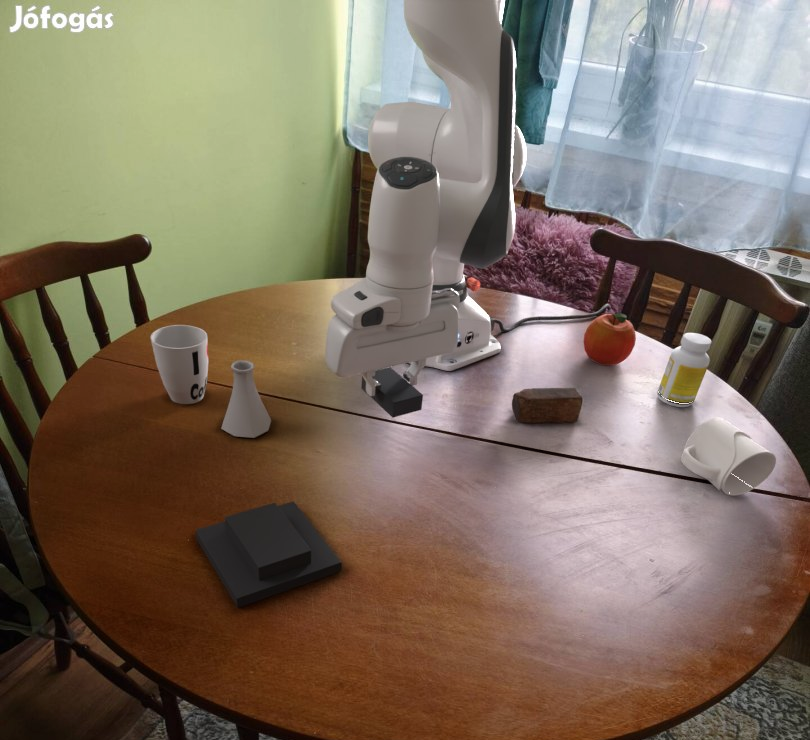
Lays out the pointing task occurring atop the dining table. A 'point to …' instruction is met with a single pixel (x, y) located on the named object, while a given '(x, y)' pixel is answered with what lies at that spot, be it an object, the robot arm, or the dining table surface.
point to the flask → (245, 405)
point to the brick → (547, 405)
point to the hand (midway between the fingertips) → (391, 389)
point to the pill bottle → (685, 370)
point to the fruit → (609, 339)
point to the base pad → (242, 577)
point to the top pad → (395, 393)
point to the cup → (182, 361)
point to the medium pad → (267, 541)
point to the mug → (727, 457)
